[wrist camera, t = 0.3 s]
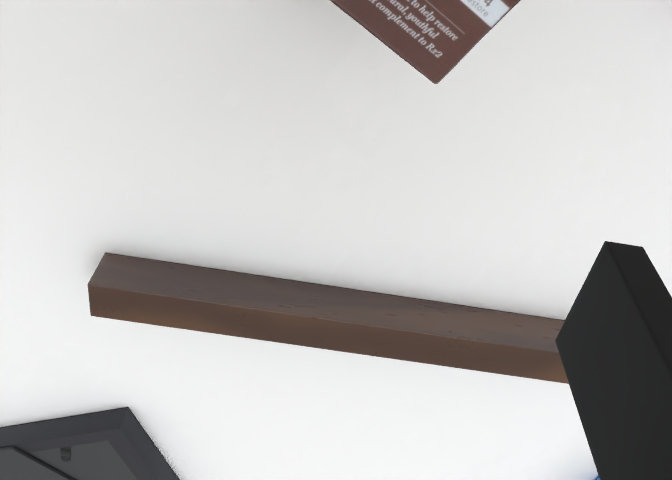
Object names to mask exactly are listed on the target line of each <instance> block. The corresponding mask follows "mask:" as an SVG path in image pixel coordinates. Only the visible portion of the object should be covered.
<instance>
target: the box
mask: <svg viewBox="0 0 672 480" xmlns="http://www.w3.org/2000/svg"><path fill="white" fill-rule="evenodd" d="M330 1H332V2H333V3H334V4H335V5H336V6H338V7H339V8H340V9H341V10H343V11H344V12H345V13H346V14H348V15H349V16H350V17H352V18H353V19H354V20H355V21H357V22H358V23H359V24H360V25H362V26H363V27H364V28H365V29H367V30H368V31H369V32H370V33H372V34H373V35H374V36H375V37H377V38H378V39H379V40H380V41H382V42H383V43H384V44H385V45H386V46H388V47H389V48H390V49H391V50H393V51H394V52H395V53H396V54H397V55H399V56H400V57H401V58H402V59H404V60H405V61H406V62H408V63H409V64H410V65H412V66H413V67H414V68H415V69H416V70H418V71H419V72H420V73H422V74H423V75H424V76H426V77H427V78H428V79H429V80H430V81H432V82H433V83H434V84H437V83H439V82H440V81H441V80H442V79H443V78H444V77H445V76H446V75H447V74H448V73H449V72H450V71H451V70H452V69H453V68H454V67H455V66H456V65H457V64H458V62H459V61H460V60H461V59H462V58H463V57H464V56H465V55H466V54H467V53H468V52H469V51H470V50H471V49H472V48H473V47H474V46H475V45H476V44H477V43H478V42H479V41H480V40H481V39H482V38H483V37H484V36H485V35H486V34H487V33H488V32H489V31H490V30H491V29H492V28H493V27H494V26H495V25H496V24H497V23H498V22H499V21H500V20H501V19H502V18H503V17H504V16H505V15H506V14H507V13H508V12H509V11H510V10H511V9H512V8H513V7H514V6H515V5H516V4H517V3H518V2H519V1H520V0H330Z"/></svg>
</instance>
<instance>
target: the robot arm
mask: <svg viewBox="0 0 672 480" xmlns="http://www.w3.org/2000/svg"><path fill="white" fill-rule="evenodd" d="M555 342H556V345H557V348H558V351H559V354H560V357H561V360H562V363H563V367H564V370H565V373H566V376H567V379H568V382H569V385H570V388H571V391H572V394H573V397H574V401H575V404H576V407H577V410H578V413H579V416H580V419H581V422H582V425H583V428H584V431H585V434H586V438H587V441H588V444H589V447H590V450H591V453H592V456H593V459H594V462H595V465H596V468H597V472H598V475H599V478H600V480H672V297H671V295H670V294H669V292H668V290H667V288H666V287H665V285H664V283H663V281H662V280H661V278H660V276H659V274H658V273H657V271H656V269H655V267H654V266H653V264H652V262H651V261H650V259H649V257H648V255H647V254H646V252H645V250H644V248H643V247H639V246H633V245H627V244H620V243H614V242H607V241H605V242H604V244H603V246H602V248H601V250H600V252H599V254H598V256H597V258H596V260H595V262H594V264H593V266H592V268H591V270H590V272H589V274H588V276H587V278H586V280H585V282H584V284H583V286H582V288H581V290H580V292H579V294H578V296H577V298H576V300H575V302H574V304H573V306H572V308H571V310H570V312H569V314H568V316H567V318H566V320H565V322H564V324H563V326H562V328H561V330H560V332H559V334H558V336H557V338H556V340H555Z"/></svg>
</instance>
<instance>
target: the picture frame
mask: <svg viewBox="0 0 672 480" xmlns="http://www.w3.org/2000/svg"><path fill="white" fill-rule="evenodd" d="M0 480H179V479H178V477H177V476H176V475H175V473H174V472H173V470H172V469H171V467H170V466H169V465H168V463H167V462H166V460H165V459H164V458H163V456H162V455H161V453H160V452H159V450H158V449H157V448H156V446H155V445H154V443H153V442H152V440H151V439H150V438H149V436H148V435H147V433H146V432H145V431H144V429H143V428H142V426H141V425H140V423H139V422H138V421H137V419H136V418H135V416H134V415H133V413H132V412H131V411H130V409H129V408H128V407H127V408H121V409H114V410H108V411H102V412H96V413H90V414H83V415H77V416H71V417H65V418H59V419H53V420H46V421H40V422H34V423H28V424H22V425H15V426H9V427H3V428H0Z"/></svg>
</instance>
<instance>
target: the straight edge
mask: <svg viewBox="0 0 672 480" xmlns="http://www.w3.org/2000/svg"><path fill="white" fill-rule="evenodd" d="M88 292H89V302H90V312H91V316H96V317H103V318H110V319H117V320H124V321H131V322H138V323H145V324H152V325H159V326H166V327H173V328H180V329H187V330H194V331H201V332H208V333H215V334H223V335H230V336H237V337H244V338H251V339H258V340H265V341H272V342H279V343H286V344H293V345H300V346H307V347H314V348H321V349H328V350H335V351H342V352H349V353H356V354H363V355H370V356H377V357H384V358H391V359H398V360H405V361H412V362H420V363H427V364H434V365H441V366H448V367H455V368H462V369H469V370H476V371H483V372H490V373H497V374H504V375H511V376H518V377H525V378H532V379H539V380H546V381H553V382H560V383H567V384H569V382H568V379H567V376H566V373H565V370H564V367H563V363H562V360H561V357H560V354H559V351H558V348H557V345H556V342H555V340H556V338H557V336H558V334H559V332H560V330H561V328H562V326H563V324H564V322H565V321H563V320H556V319H550V318H543V317H536V316H529V315H522V314H516V313H509V312H502V311H495V310H489V309H482V308H475V307H468V306H461V305H455V304H448V303H441V302H434V301H428V300H421V299H414V298H407V297H400V296H394V295H387V294H380V293H373V292H367V291H360V290H353V289H346V288H339V287H333V286H326V285H319V284H312V283H306V282H299V281H292V280H285V279H278V278H272V277H265V276H258V275H251V274H245V273H238V272H231V271H224V270H217V269H211V268H204V267H197V266H190V265H184V264H177V263H170V262H163V261H156V260H150V259H143V258H136V257H129V256H123V255H116V254H109V253H105V254H104V256H103V258H102V260H101V261H100V263H99V265H98V267H97V269H96V270H95V272H94V274H93V276H92V278H91V279H90V281H89V283H88Z"/></svg>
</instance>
